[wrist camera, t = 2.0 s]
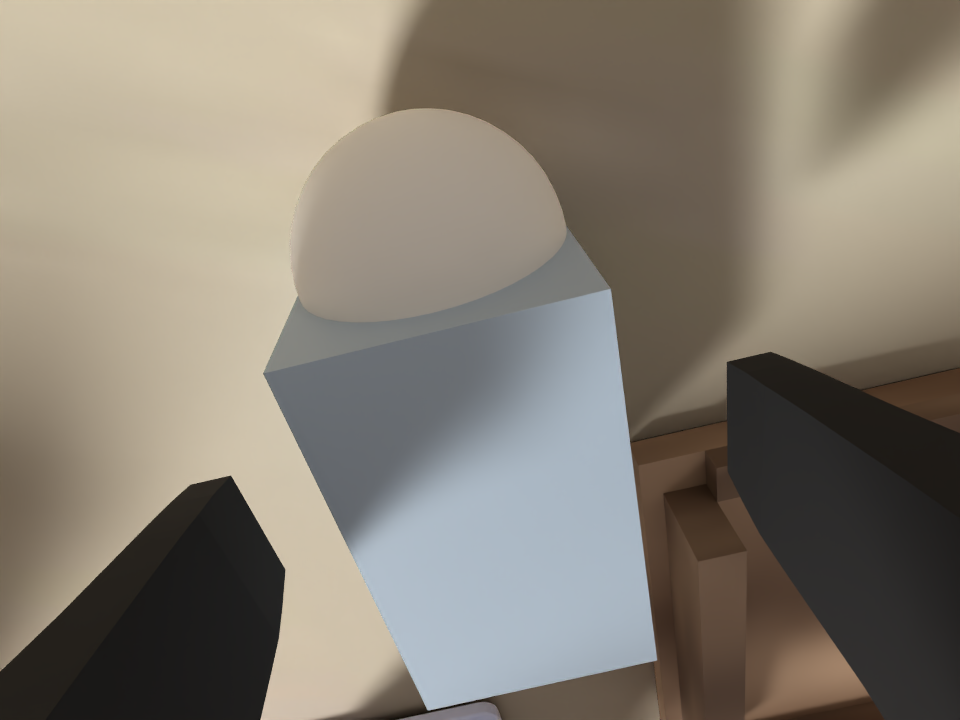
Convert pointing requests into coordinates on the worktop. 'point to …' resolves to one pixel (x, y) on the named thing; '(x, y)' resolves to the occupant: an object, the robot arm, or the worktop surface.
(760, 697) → the brown tray
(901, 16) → the worktop surface
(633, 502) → the domed blue block
